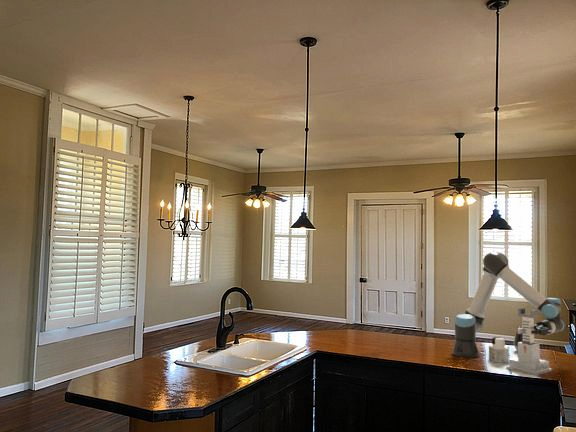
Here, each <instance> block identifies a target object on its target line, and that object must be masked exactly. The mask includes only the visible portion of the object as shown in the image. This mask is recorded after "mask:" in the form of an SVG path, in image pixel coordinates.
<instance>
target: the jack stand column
mask: <svg viewBox="0 0 576 432" xmlns="http://www.w3.org/2000/svg"><path fill="white" fill-rule="evenodd" d="M517 316H518V317H521V318H522V323H521V324H522V326H523V341H526V342H529V344H530V345H532V344H534V343H535V334H533V335H527V330H529V329H534V325H535V320H534V319H537V318H539V310H538V309H531V310H530V312H526V307H522V308H520V307H519V308H517Z"/></svg>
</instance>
